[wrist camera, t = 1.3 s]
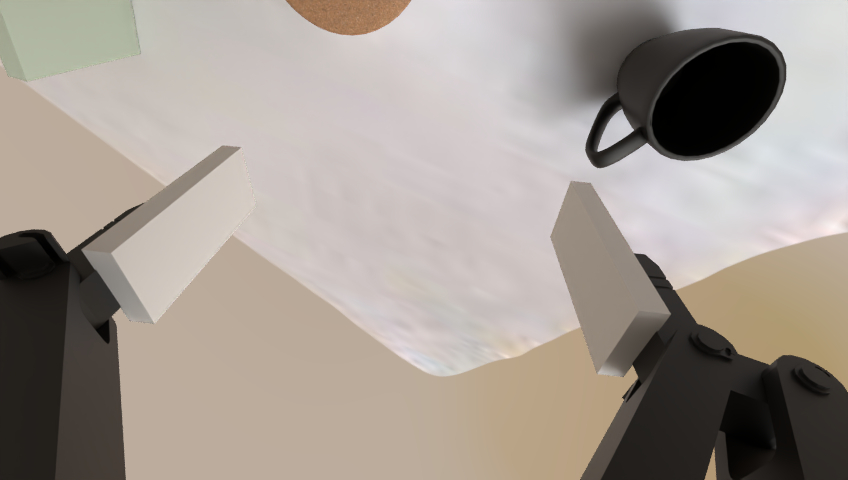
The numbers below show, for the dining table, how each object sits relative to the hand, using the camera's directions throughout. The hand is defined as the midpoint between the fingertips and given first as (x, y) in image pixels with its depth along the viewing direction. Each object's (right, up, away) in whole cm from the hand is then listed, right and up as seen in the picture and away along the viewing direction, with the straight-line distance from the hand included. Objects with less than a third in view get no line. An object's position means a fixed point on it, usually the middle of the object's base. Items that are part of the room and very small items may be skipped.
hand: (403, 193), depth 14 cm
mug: (+19, +12, +18) cm, 29 cm away
